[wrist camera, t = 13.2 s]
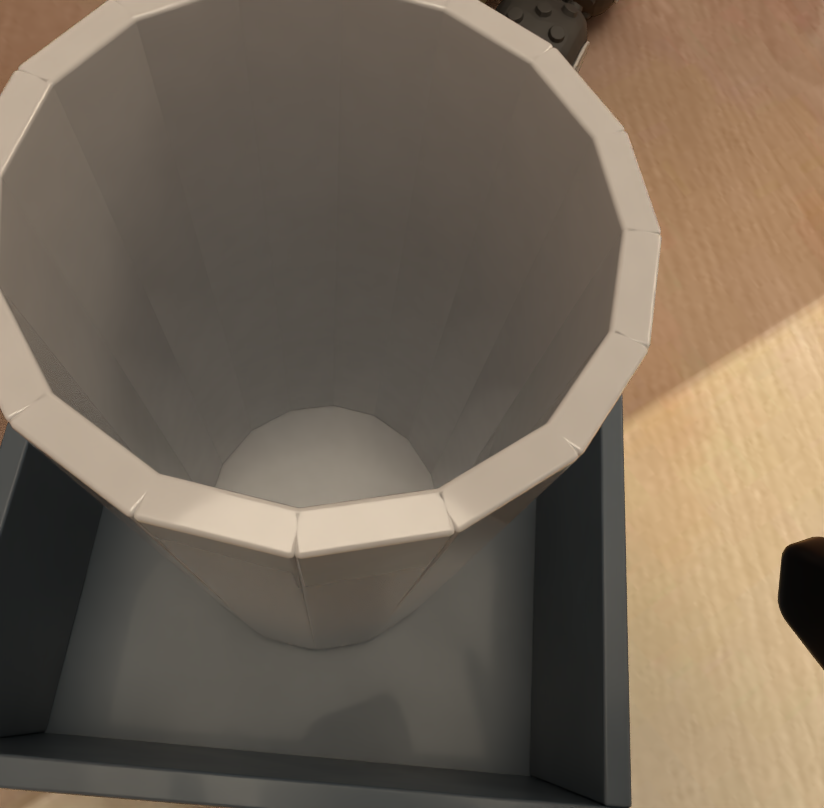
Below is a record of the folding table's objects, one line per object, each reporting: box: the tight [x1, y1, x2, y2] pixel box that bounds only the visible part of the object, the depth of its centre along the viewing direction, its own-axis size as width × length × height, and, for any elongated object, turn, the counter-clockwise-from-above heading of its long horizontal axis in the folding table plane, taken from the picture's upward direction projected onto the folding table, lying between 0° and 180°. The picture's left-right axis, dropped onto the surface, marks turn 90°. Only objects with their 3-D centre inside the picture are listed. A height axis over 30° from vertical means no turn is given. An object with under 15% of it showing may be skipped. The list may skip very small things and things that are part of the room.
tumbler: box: [0, 0, 662, 650], centre depth 13 cm, size 6×6×13 cm
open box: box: [0, 394, 631, 808], centre depth 17 cm, size 12×12×6 cm
